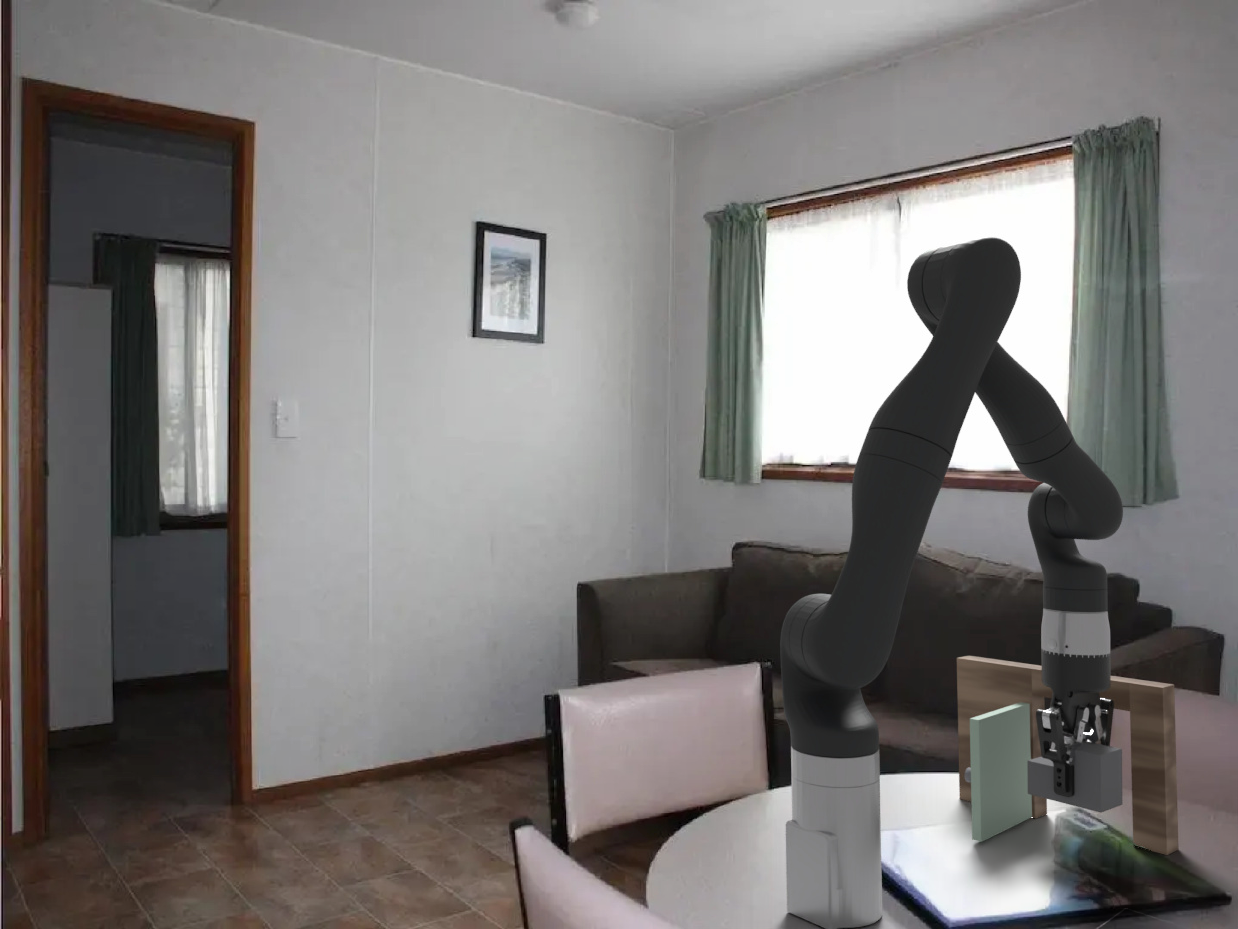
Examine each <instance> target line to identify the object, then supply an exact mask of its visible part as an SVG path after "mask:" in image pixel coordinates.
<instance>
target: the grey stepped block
mask: <svg viewBox="0 0 1238 929" xmlns="http://www.w3.org/2000/svg"><path fill="white" fill-rule="evenodd" d="M1067 747H1068V745H1065V749H1066V753H1067ZM1073 765H1074V788H1075V793H1074V796H1071V797H1065V796H1061V795H1057V794H1056V793H1055V792H1054V765H1053V762H1052V761H1051V760H1049V759H1045V758H1042V756H1041V757H1038V758H1034V759H1031V760H1027V773H1028V794H1030V795H1034V796H1038V797H1042V798H1046V799H1047V800H1050V801H1054V802H1058V803H1062V804H1066V805H1070V806H1074V807H1076V808H1081V809H1085V810H1089V811H1093V812H1097V813H1104V812H1106V811H1109V810H1113V809H1115V808H1118V807H1120V806H1122V805H1123V748H1121V747H1115V746H1111V745H1110V746H1106V745H1101V744H1094V743H1092V742H1087V741H1086V740H1085V741H1083V742H1082V744H1081V746H1079V747H1077V749H1076V750H1075V761H1074V764H1073Z"/></svg>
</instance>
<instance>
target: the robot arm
mask: <svg viewBox="0 0 1238 929" xmlns="http://www.w3.org/2000/svg"><path fill="white" fill-rule="evenodd" d="M1018 256H1019V255H1018V254H1017V251H1016V250H1015V249H1014V248H1013V246H1012V245H1011V244H1010V243H1009V242H1007V241H1006V240H1004V239H1002V238H999V237H996V236H995V237H994V236H983V237H982V236H981V237H976V238H971V239H967V240H961V241H958V242H954V243H950V244H944V245H941V246H938V247H937V246H936V247H934V248H932V249H929V250H926V251H925V252H922V253H921V254H920V255H918V257H916V259H915V260H914V261H913V263H912V265H911V266H910V269H909V272H908V274H907V275H908V276H907V281H906V282H907V283H906V284H907V286H906V287H907V294H908V298H909V301H910V302H911V305H912V307H913V309H914V311H915V313H916V314H917V316H918V318H919V319H920V320H921V322H922V323H923V325H924V326H925V328H926V330H928V331H929V333H930V334H931V335H932V338H931V341H930V342H929V344H928V346H927V348H926V350H925V351H924V353H923V354H922V355H921V357H920V359H919V360H918V361H917V362H916V363H915V365H914V366H913V367H912V368H911V370H910V371H908V373H907V374H906V375H905V376H904V377H903V378H902V379H901V381H900V382H899V383H898V384H897V385H896V386H895V387H894V389H893V390H892V391H891V393H890V394H888V396H887V397H886V399H885V400H884V401H883V403H882V404H881V405H880V406H879V408H878V410H876V411H877V412H875V414H874V416H873V418H872V419H871V422H870V424H869V427H868V431H867V432H866V435H865V438H864V440H863V444H862V446H861V449H860V452H859V455H858V457H857V460H856V464H855V466H854V470H853V475H852V484H851V485H852V486H851V516H852V517H851V520H852V521H851V523H852V526H851V527H852V528H851V538H850V543H849V544H850V545H849V548H848V551H847V556H846V559H845V562H844V564H843V567H842V569H841V572H840V575H839V577H838V579H837V582H836V584H835V587H834V589H833V591H832V593H831V594H827V593H813V594H809V595H805V596H802V598H800V599H798V600H797V601H796V602H795V603H794V604H793V605H792V606H791V607H790V609H789V610H788V611H787V612H786V614H785V618H784V620H783V623H782V627H781V632H780V641H779V642H780V643H779V646H780V647H779V648H780V650H779V653H780V670H781V671H780V672H781V674H780V676H781V690H782V692H781V693H782V706H783V712H784V717H785V720H786V722H787V724H788V729H789V733H790V759H791V760H790V764H791V766H790V767H791V772H790V773H791V774H790V775H791V782H790V783H791V819H790V820H788V821H786V822H785V866H786V868H785V869H786V872H785V873H786V874H785V875H786V912H787V913H790V914H792V915H794V916H796V917H799V918H801V919H804V920H805V921H807V922H810V923H812V924H815V925H817V926H820V927H822V928H824V929H843V928H844V929H848V928H849V929H850V928H853V929H854V928H861V927H864V926H870V925H872V924H875V923H876V922H878V920H880V919H881V918H882V916H883V887H882V885H883V882H882V881H883V880H882V879H883V876H882V832H881V830H882V828H881V823H882V822H881V782H880V781H881V780H880V779H881V778H880V777H881V771H880V770H881V767H880V766H881V765H880V764H881V763H880V730H879V726H878V723H877V721H876V719H875V718H874V717H873V714H872V713H871V712H870V711H869V709H868V707H867V705H866V703H865V701H864V697H863V695H862V690H861V689H862V688H863V687H866V686H868V685H869V684H870V683H872V682H873V681H874V680H875V679H876V678H877V677H879V675H880V673H882V671H883V669H884V667H885V666H886V664H887V662H888V660H889V657H890V654H891V651H892V649H893V646H894V642H895V637H896V635H897V634H896V633H897V630H898V626H899V625H898V624H899V620H900V617H901V612H902V609H903V603H904V600H905V595H906V593H907V589H908V588H907V587H908V583H909V580H910V577H911V572H912V569H913V567H914V563H915V560H916V557H917V554H918V552H919V549H920V547H921V543H922V540H923V538H924V534H925V532H926V529H927V526H928V523H929V519H930V516H931V513H932V510H933V509H934V506H935V503H936V500H937V498H938V495H939V494H940V491H941V488H942V486H943V483H944V481H945V480H944V479H945V477H946V475H947V472H948V470H949V466H950V463H951V460H952V458H953V455H954V451H955V449H956V446H957V442H958V439H959V435H960V433H961V430H962V428H963V425H964V423H965V420H966V417H967V414H968V412H969V409H970V407H971V404H972V401H973V399H974V396H975V394H976V396H977V397H978V398H979V400H980V401H981V403H982V404H983V407H985V410H986V411H987V413H988V415H989V416H990V418H991V419H992V421H993V423H994V425H995V427H996V429H997V430H998V432H999V435H1000V436H1001V438H1002V441H1003V442H1004V443H1005V446H1006V448H1007V450H1008V452H1009V454H1010V456H1011V457H1012V459H1013V461H1014V463H1015V466H1016V467H1017V469H1018V470H1019V472H1020V473H1021V474H1022V475H1023V477H1026V478H1027V479H1030V480H1033V481H1036V482H1039V483H1041V484H1039V485H1037V487H1036V488H1035V489H1034V490H1033V491H1032V494H1031V496H1030V498H1029V501H1028V506H1027V523H1028V527H1029V531H1030V535H1031V538H1032V541H1033V545H1034V548H1035V552H1036V554H1037V556H1036V557H1037V558H1038V563H1039V565H1040V569H1041V572H1042V576H1043V581H1042V582H1043V583H1042V584H1043V585H1042V586H1043V587H1042V596H1043V597H1042V598H1043V600H1042V601H1043V602H1042V604H1043V609H1042V621H1041V627H1040V628H1041V634H1040V636H1041V638H1040V641H1041V645H1040V646H1041V650H1040V651H1041V652H1040V653H1041V654H1040V656H1041V666H1042V683H1043V684H1044V685H1045V686H1047V687H1050V688H1051V690H1052V691H1053V694H1052V698H1051V700H1050V706H1049V707H1048V709H1045V710H1041V709H1038V710H1037V711H1036V720H1037V727H1038V735H1039V742H1040V749H1041V756H1042V758H1045V759H1049V760H1051V761H1052V762H1053V765H1054V792H1055V793H1056V794H1057V795H1061V796H1065V797H1071V796H1074V793H1075V788H1074V765H1073V764H1074V761H1075V750H1076V749H1077V747H1079V746H1081V744H1082V742H1083V741H1087V742H1092V743H1094V744H1101V745H1106V746H1111V737H1112V728H1113V718H1114V710H1115V709H1114V701H1113V700H1110V699H1105V698H1100V694H1099V692H1104V691H1107V690H1108V689H1109V688H1110V686H1111V676H1112V674H1111V673H1112V672H1111V666H1112V665H1111V628H1110V622H1109V613H1108V612H1109V611H1108V609H1109V608H1108V606H1109V605H1108V574H1107V573H1108V572H1107V570H1106V568H1105V566H1104V565H1103V564H1102V563H1101V562H1098V561H1096V560H1092V559H1089V558H1087V557H1084V556H1083V555H1082V554H1081V552H1080V551H1079V548H1078V546H1077V544H1076V540H1085V541H1086V540H1087V541H1099V540H1106V539H1108V538H1110V537H1112V536H1113V535H1115V534H1116V532H1117V531H1118V530H1119V529H1120V526H1121V525H1122V522H1123V517H1124V509H1123V508H1124V507H1123V506H1124V505H1123V502H1122V498H1121V496H1120V493H1119V490H1118V489H1117V487H1116V486H1115V485H1114V483H1113V482H1112V480H1111V479H1110V478H1109V477H1108V476H1107V474H1106V473H1105V472H1104V471H1103V470H1102V468H1100V467H1099V466H1098V464H1097V463H1096V462H1095V461H1094V460H1093V458H1091V456H1090V455H1089V454H1088V453H1087V452H1085V450H1084V449H1082V447H1080V445H1079V444H1078V443H1077V441H1076V439H1075V437H1074V436H1073V433H1072V431H1071V428H1070V427H1069V425H1068V423H1067V421H1066V419H1065V417H1064V415H1063V412H1062V411H1061V409H1060V407H1059V406H1058V404H1057V402H1056V400H1055V399H1054V397H1052V394H1051V393H1050V392H1049V391H1048V390H1047V389H1046V387H1045V386H1044V385H1043V384H1042V383H1041V382H1040V381H1039V380H1038V379H1037V378H1036V377H1035V376H1033V375H1032V374H1031V373H1030V372H1029V371H1028V370H1027V369H1026V368H1024V367H1023V366H1022V365H1021V364H1020V363H1019V362H1018V361H1017V360H1016V359H1015V358H1014V357H1012V355H1010V354H1009V352H1007V351H1006V350H1005V348H1004V347H1003V346H1002V345H1001V344H1000V343H999V342H998V341H999V340H1000V337H1001V335H1002V333H1003V331H1004V328H1006V325H1007V323H1008V321H1009V318H1010V316H1011V314H1012V312H1013V309H1014V308H1015V306H1016V303H1017V300H1018V297H1019V294H1020V287H1021V281H1022V271H1021V270H1022V269H1021V263H1020V259H1019V257H1018ZM1064 734H1065V735H1064ZM1066 735H1068V736H1066ZM1069 735H1070V736H1069ZM1050 742H1051V746H1050ZM1066 745H1067V746H1068V747H1067V753H1066V749H1065V747H1066Z"/></svg>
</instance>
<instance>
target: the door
mask: <svg viewBox="0 0 1238 929" xmlns="http://www.w3.org/2000/svg"><path fill="white" fill-rule="evenodd" d="M970 756H971V768H970V767H968V768H967V769H966V771H965V780H966V782H970V783H971V803H970V804H971V836H972V837H971V839H972V840H973V841H976V842H979V843H980V842H981V843H983V842H984V841H986V840H988V839H991V838H992V837H994V836H996V835H998V834H1000V833H1003V832H1004V831H1006V830H1008V829H1010V828H1013V827H1015V826H1016V825H1019V824H1021V823H1023V822H1024V821H1027V820H1029V819H1032V818H1031V817H1032V795H1030V794H1028V773H1027V760H1031V749H1030V704H1029V703H1023V702H1020V703H1017V704H1014V705H1010V706H1007V707H1004V708H1001V709H998V710H995V711H992V712H989V713H986V714H982V715H979V716H976V717H973V718H970Z"/></svg>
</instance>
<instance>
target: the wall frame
mask: <svg viewBox="0 0 1238 929" xmlns="http://www.w3.org/2000/svg"><path fill="white" fill-rule="evenodd" d="M956 684H957V689H956V690H957V691H956V692H957V693H956V694H957V731H958V733H957V734H958V736H957V738H958V781H959V783H958V784H959V786H958V787H959V799H960V800H962V801H965V802H966V801H967V802H971V783H970V782H966V780H965V771H966V769H967V768H968V767H970V768H971V756H970V718H973V717H976V716H979V715H982V714H986V713H989V712H992V711H995V710H998V709H1001V708H1004V707H1007V706H1010V705H1014V704H1017V703H1020V702H1023V703H1029V704H1030V749H1031V759H1034V758H1038V757H1041V749H1040V742H1039V735H1038V727H1037V720H1036V711H1037V710H1038V709H1041V710H1046V708H1045V706H1046V705H1045V698H1047V699H1048V698H1049V699H1052V694H1053V691H1052V690H1051V688H1050V687H1047V686H1045V685H1044V684H1043V683H1042V665H1039V664H1032V663H1031V664H1030V663H1026V662H1025V663H1023V662H1018V661H1009V660H1005V659H1004V660H1003V659H996V658H991V657H990V658H989V657H983V656H982V657H981V656H975V655H964V656H959V657H956ZM1099 694H1100V698H1105V699H1110V700H1113V701H1114V710H1119V711H1125V712H1129V720H1130V721H1129V722H1130V723H1129V725H1130V762H1131V763H1130V764H1131V765H1130V766H1131V799H1132V801H1131V802H1132V803H1131V806H1132V842H1133V843H1135V844H1136V845H1138V846H1143V847H1145V848H1147V849H1149V850H1148V851H1150V850H1151V852H1153V853H1158V854H1162V855H1166V856H1169V855H1170V854H1172V853H1174V852H1176V851H1178V850H1179V820H1178V819H1179V818H1178V817H1179V816H1178V814H1179V813H1178V812H1179V811H1178V779H1177V776H1178V775H1177V741H1176V740H1177V738H1176V734H1177V733H1176V702H1175V698H1176V696H1175V695H1176V694H1175V684H1173V683H1165V682H1159V681H1153V680H1151V681H1150V680H1143V679H1137V678H1130V677H1125V676H1124V677H1122V676H1115V675H1111V686H1110V688H1109V689H1108V690H1107V691H1104V692H1099ZM1047 801H1048V799H1046V798H1042V797H1038V796H1034V795H1032V817H1033V818H1037V819H1039V818H1041V817H1040V816H1042V817H1045V816H1047V815H1048V802H1047ZM1046 814H1047V815H1046ZM1044 815H1045V816H1044ZM1038 817H1039V818H1038ZM1133 843H1132V844H1133Z"/></svg>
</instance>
